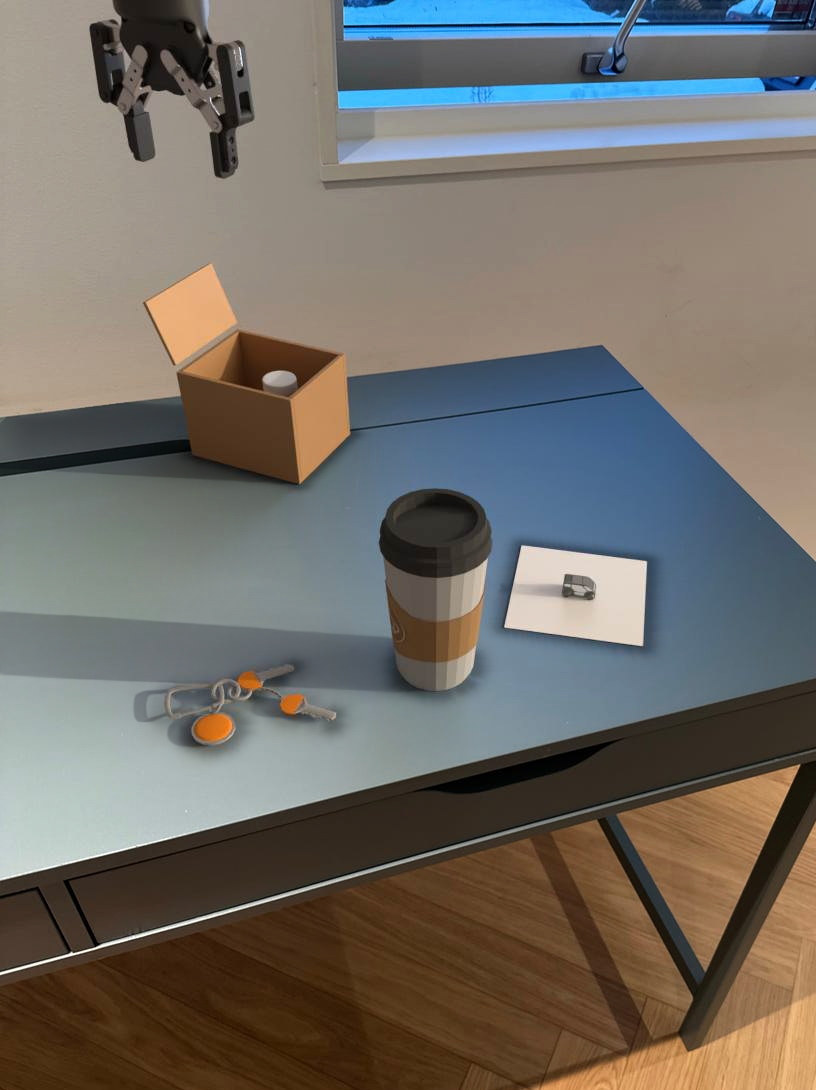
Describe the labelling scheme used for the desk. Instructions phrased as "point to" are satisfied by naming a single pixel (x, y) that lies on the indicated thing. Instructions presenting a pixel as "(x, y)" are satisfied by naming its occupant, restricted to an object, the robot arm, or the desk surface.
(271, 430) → the carton
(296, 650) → the desk surface
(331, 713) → the key chain
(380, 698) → the desk surface
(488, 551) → the coffee cup
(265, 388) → the pill bottle
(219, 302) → the bin flap
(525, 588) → the white square mat
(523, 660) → the desk surface
